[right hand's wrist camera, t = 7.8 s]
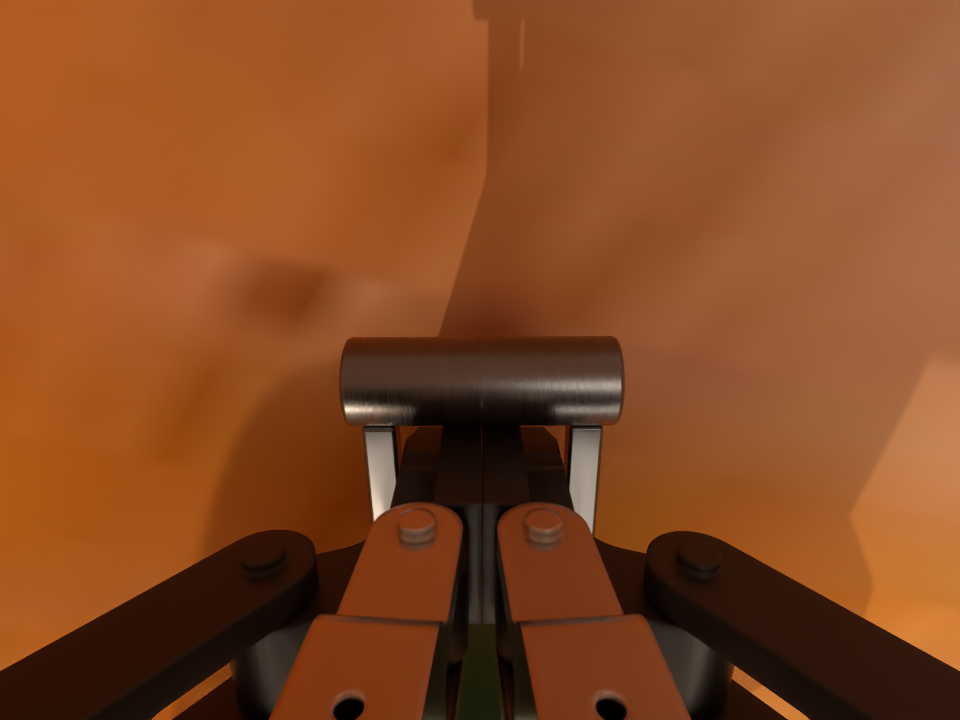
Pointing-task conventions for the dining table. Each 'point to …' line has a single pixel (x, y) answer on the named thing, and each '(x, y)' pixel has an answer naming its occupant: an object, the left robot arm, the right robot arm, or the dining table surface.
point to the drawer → (483, 424)
